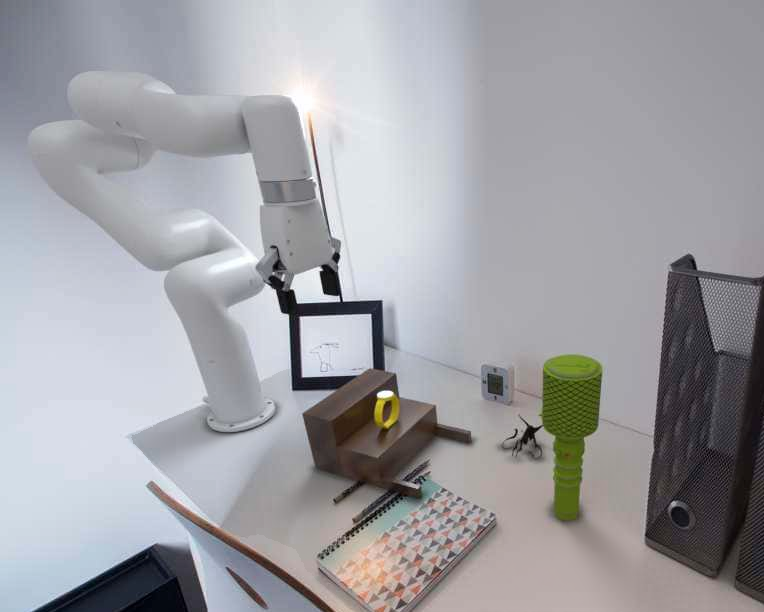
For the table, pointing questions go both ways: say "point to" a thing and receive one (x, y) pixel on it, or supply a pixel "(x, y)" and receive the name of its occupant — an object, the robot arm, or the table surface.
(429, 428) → the step shelf
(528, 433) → the creature
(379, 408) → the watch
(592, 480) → the table surface
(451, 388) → the table surface
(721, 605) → the table surface
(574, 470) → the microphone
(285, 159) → the robot arm
